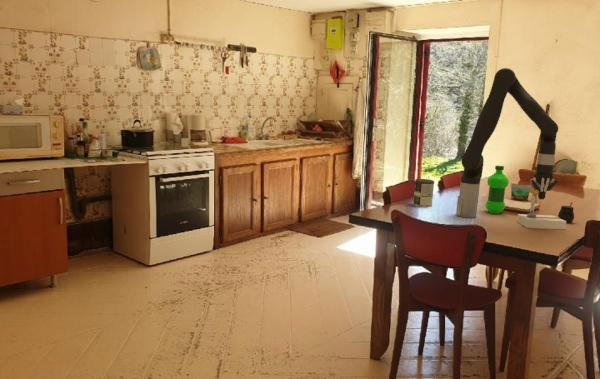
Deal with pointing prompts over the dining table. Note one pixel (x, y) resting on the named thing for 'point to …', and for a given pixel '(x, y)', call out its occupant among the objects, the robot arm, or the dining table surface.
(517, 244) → the dining table surface
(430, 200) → the coffee can
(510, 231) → the dining table surface
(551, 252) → the dining table surface
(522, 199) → the food container
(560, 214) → the mate gourd
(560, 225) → the block
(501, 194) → the plastic bottle
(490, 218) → the dining table surface
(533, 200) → the breaker handle
